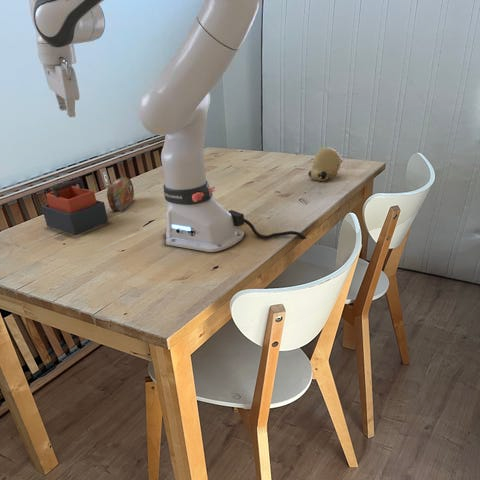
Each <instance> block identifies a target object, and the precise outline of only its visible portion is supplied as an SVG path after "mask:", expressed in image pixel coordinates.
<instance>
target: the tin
mask: <svg viewBox="0 0 480 480" xmlns="http://www.w3.org/2000/svg"><path fill="white" fill-rule="evenodd" d="M134 197H135V191H134V185H133V182H132V180H131V179H130V178H129V176H124V177H119V178H118V179H116V180H115V181H114V182H112V183H111V184H110V185H109V186H108V188H107V191H106V198H107V203H108V205H109V209H111V210H112V211H114V212H115V211H119V212H121V210H122V208H124V207H125V206H126V205H127V204H132V202H133V200H134Z"/></svg>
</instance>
